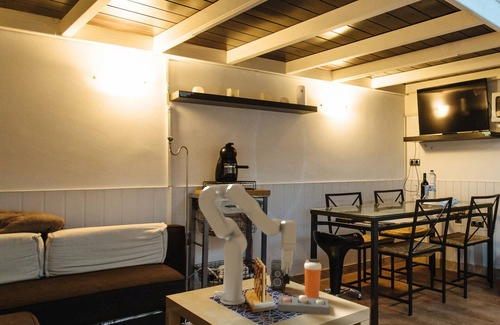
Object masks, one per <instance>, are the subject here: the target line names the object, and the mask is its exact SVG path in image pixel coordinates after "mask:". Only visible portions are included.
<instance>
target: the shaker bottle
mask: <svg viewBox="0 0 500 325" xmlns="http://www.w3.org/2000/svg"><path fill="white" fill-rule="evenodd" d="M320 262H321V260H320V259H316V258H312V259H311V258H310V257H308V258H307V259H305V262H304V264H303V265H304V295H306V296H307V298H318V299H320V298H319V297H320V289H321V288H320V285H321V274H322V272H321V271H322V264H321V263H320Z"/></svg>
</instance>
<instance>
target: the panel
mask: <svg viewBox="0 0 500 325" xmlns="http://www.w3.org/2000/svg"><path fill="white" fill-rule="evenodd" d="M285 297H287V298H290V299H291V303H290V302H282V300H283V298H285ZM277 299H278V300H277V301H278V302H277V311H280V312H295V313H308V314H309V313H310V314H324V315H330V306H329V305H330V304H329V301H328V298H307V304H306V303H299V296H287V295H285V296H284V295H279V296H278V298H277ZM316 300H323V301H324V305H321V304H316Z"/></svg>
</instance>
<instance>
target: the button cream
mask: <svg viewBox="0 0 500 325" xmlns="http://www.w3.org/2000/svg"><path fill="white" fill-rule="evenodd" d="M298 297H299V303H306V304H307V296H306V295H305V294H300V295H298Z"/></svg>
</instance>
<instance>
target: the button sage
mask: <svg viewBox="0 0 500 325" xmlns="http://www.w3.org/2000/svg"><path fill="white" fill-rule="evenodd" d="M316 304H321V305H324V301H323V300H316Z"/></svg>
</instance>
